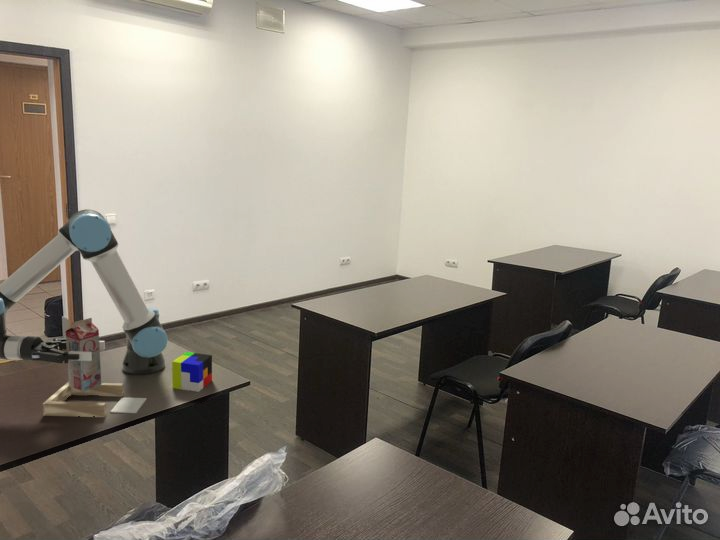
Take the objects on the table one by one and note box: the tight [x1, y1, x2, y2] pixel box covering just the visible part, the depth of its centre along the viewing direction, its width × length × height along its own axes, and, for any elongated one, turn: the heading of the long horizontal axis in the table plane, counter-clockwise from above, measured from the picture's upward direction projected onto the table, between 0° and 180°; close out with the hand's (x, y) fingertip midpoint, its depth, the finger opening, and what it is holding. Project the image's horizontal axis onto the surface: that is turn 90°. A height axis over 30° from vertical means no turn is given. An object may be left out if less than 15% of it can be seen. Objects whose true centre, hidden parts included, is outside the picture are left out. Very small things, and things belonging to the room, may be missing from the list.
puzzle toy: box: [171, 351, 213, 393], centre depth 194 cm, size 10×10×10 cm
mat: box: [109, 396, 147, 414], centre depth 176 cm, size 10×8×1 cm
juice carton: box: [65, 317, 102, 392], centre depth 171 cm, size 7×7×22 cm
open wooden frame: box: [42, 381, 125, 418], centre depth 175 cm, size 16×18×4 cm
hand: (97, 350), depth 171 cm, fingers closed on juice carton, 9 cm apart
